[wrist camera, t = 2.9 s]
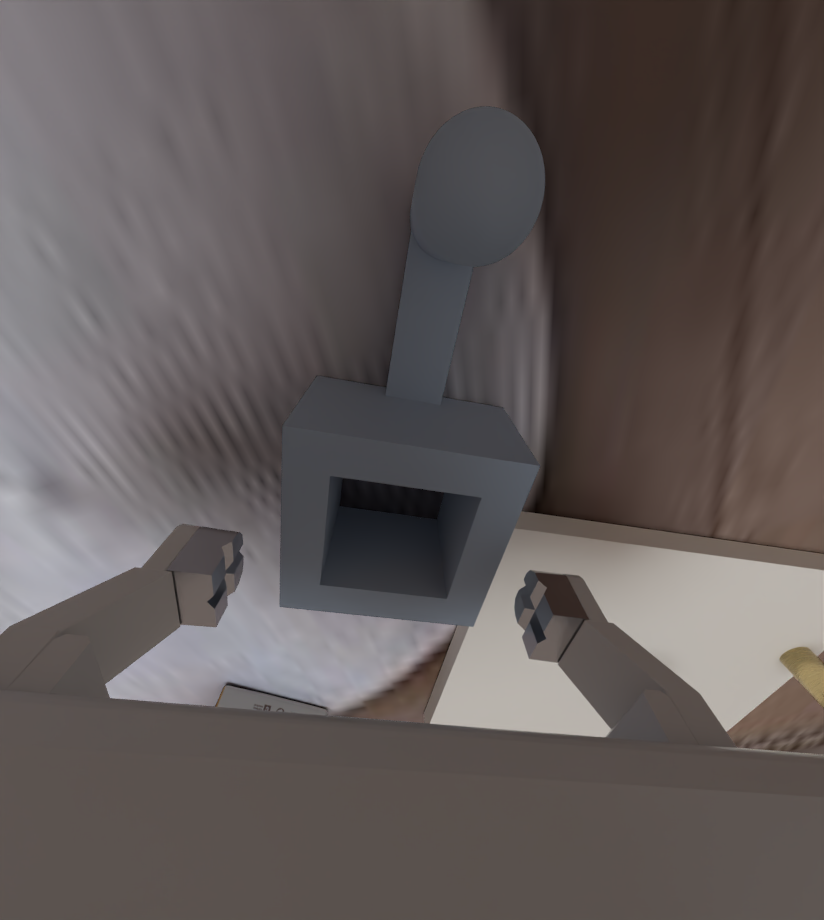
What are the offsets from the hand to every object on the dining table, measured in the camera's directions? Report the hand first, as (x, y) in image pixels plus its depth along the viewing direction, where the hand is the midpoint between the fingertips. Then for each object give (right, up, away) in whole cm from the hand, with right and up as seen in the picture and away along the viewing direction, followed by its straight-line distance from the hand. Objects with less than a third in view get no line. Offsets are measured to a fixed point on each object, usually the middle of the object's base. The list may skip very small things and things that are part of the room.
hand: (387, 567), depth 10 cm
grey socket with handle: (+1, +5, +2) cm, 6 cm away
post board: (+12, -7, +9) cm, 17 cm away
